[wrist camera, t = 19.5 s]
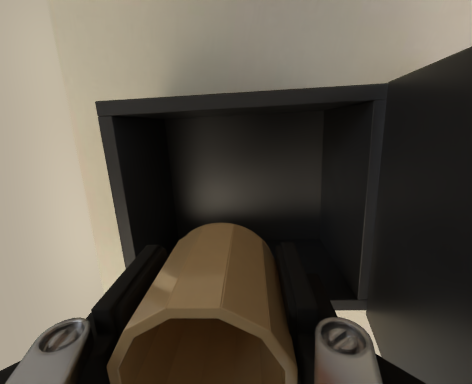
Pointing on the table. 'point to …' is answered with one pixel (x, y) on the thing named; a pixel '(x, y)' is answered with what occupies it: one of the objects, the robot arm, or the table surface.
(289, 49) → the table surface
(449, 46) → the table surface
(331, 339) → the robot arm
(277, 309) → the wooden cup
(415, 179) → the lid
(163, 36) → the table surface
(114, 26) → the table surface
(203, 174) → the open storage box
